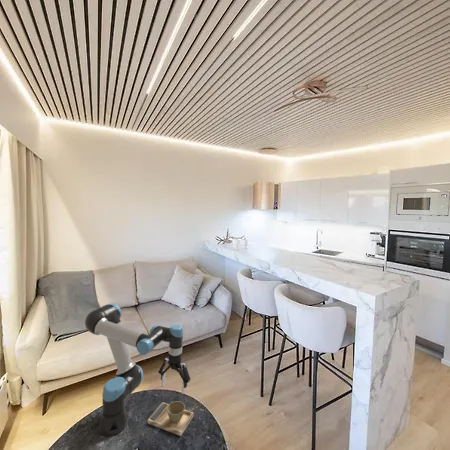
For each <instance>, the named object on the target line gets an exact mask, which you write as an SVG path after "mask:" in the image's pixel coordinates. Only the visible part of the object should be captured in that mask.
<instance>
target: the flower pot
mask: <svg viewBox="0 0 450 450" xmlns="http://www.w3.org/2000/svg"><path fill="white" fill-rule="evenodd" d="M185 407H186V406H185V403H184V402H183V401H177V400H176V401H175V400H174V401H172V402H170V403H169V405H168V407H167V412H168V416H169V418H170V420H171V422H173V423H177V422H179V421H180V419H181V418H182V416H183V413H184V410H186V409H185Z"/></svg>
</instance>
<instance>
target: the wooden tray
mask: <svg viewBox="0 0 450 450" xmlns="http://www.w3.org/2000/svg"><path fill="white" fill-rule="evenodd" d="M169 404H170V403H169ZM169 404H168V403H167V402H164V401H163V402H161V403H160V404H159V406H158V407H157V408H156V410H154V412H153V413H152V414H151V415H150V416H149V418H148V419H147V424H148V425H151V426H153V427H156V428H158V429H161V430H163V431H167V432H169V433H172V434H174V435H177V436H180V437H182V435H183V433H185V430H186V428H187V427H188V426H189V424H190V422H191V421H192V419H193V417H194V412H193V411H190V410H187V409H184V413H183V416H182V418H181V419H180V421H179V422H177V423H173V422H171V420H170V418H169V416H168V412H167V407H168V405H169Z"/></svg>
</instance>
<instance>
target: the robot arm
mask: <svg viewBox="0 0 450 450" xmlns="http://www.w3.org/2000/svg"><path fill="white" fill-rule="evenodd" d="M122 314H123V313H122V309H121V307H120V306H119V305H118V304H115V303H108V304H105V305H102V306H101V307H98V308H97V309H94V310H92V311H90V312H89V313H88V314H87V315H86V316H85V317H86V318H85V319H84V320H85V321H84V326H85V328H86V331H88V332H89V333H91V334H93V335H95V336H100V335H101V336H104V337H106V339H107V342H108V345H109V347H110V350H111V354H112V356H113V359H114V362H115V365H116V368H117V371H116V373H115V375H116V376H115V377H114V378H111V379H110V380H108V381H107V382H106V383H105V384H104V386H103V388H102V406H101V407H102V410H101V411H102V412H101V415H100V418H99V422H98V429H97V430H98V432H99V434H101V435H102V436H107V437H110V436H114V435H118V433H121V431H123V430H125V428H126V427H127V425H128V421H129V414H128V413H127V409H126V399H127V398H128V397H129V396H130V395H131V394H132V393H133V392H134V391H135V390H136V389H137V388H138V387H140V385H141V383H142V382H143V380H144V371H143V369H142V367H141V366H139V365H138V364H136V362H133V361H132V360H133V359H132V358H131V355H130V353H129V350H128V347H127V345H128V346H130V347H131V346H132V347H134V348H136V351H137V353H139V355H142V356H146V355H147V354H149V353H150V352H152V351H153V349H155V347H157V346H158V345H159V344H160V343H162V342H164V343H168V357H165V358H164V359H163V362H162V364H161V366H160V368H159V370H158V371H157V373H158V374H160V380H161V388H163V387H165V385H166V380H167V371H168V370H169V369H171V370H173V371H176V372H177V373H178V374H179V376H180V379H181V380H182V384H181V385H182V388H181V394H182V395H184V394H185V393H186V389H187V386H188V383H189V382H190V381H191V379H192V378H191V376H190V374H189V370H188V367H187V363H186V362H184V363H182V360H183V359H182V357H183V356H182V355H183V339H184V328H183V326H182V325H181V324H172V325H171V326H170V327H166V326H161V325H152V327H151V329H150V330H149V334H146V333H143V332H140V331H138V330H134V329H131V328H129V327H126V326H124V325H121V322H122V320H121V317H122ZM167 363H168V366H167V367H166V365H167ZM165 367H166V368H165Z"/></svg>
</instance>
